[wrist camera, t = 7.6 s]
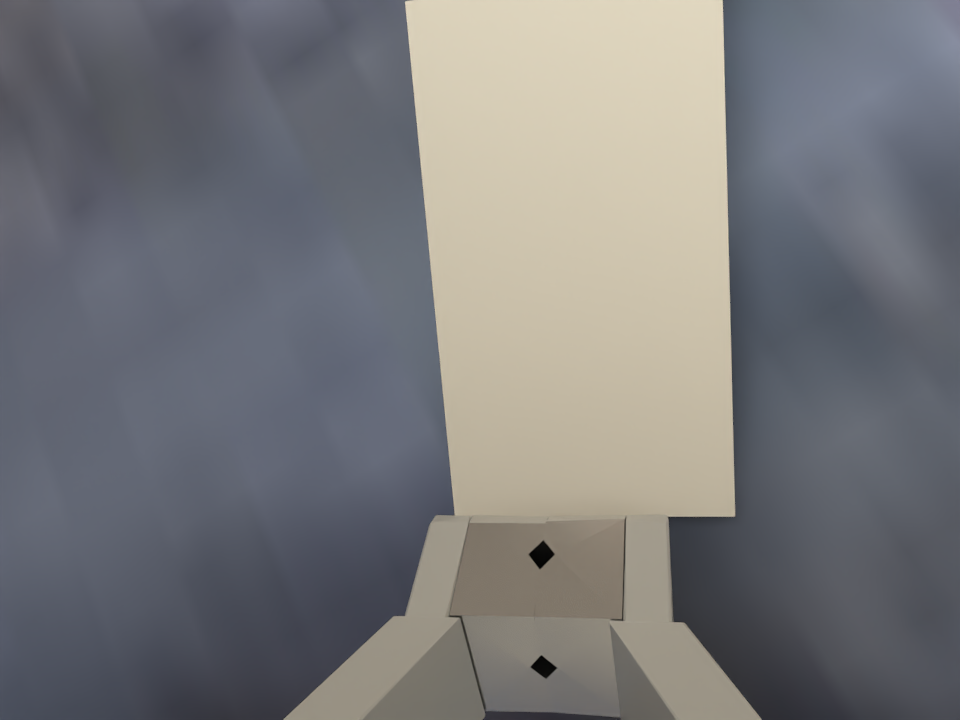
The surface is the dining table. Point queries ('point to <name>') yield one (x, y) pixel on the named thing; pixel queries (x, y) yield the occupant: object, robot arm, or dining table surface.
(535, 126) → the domino
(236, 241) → the dining table surface
